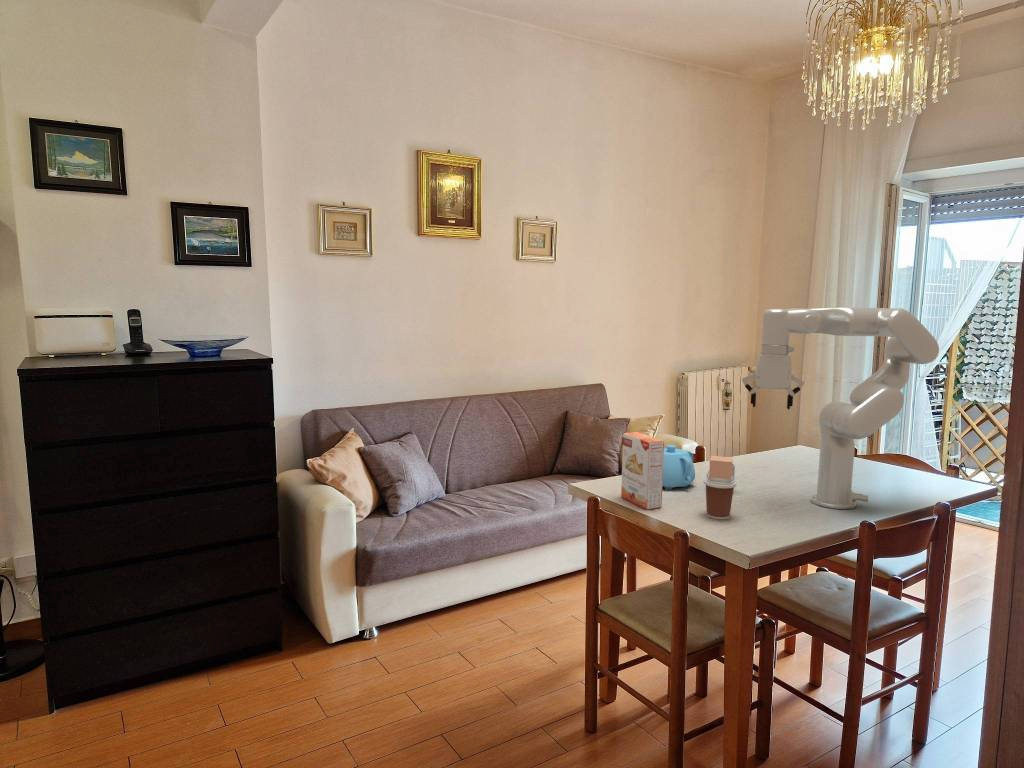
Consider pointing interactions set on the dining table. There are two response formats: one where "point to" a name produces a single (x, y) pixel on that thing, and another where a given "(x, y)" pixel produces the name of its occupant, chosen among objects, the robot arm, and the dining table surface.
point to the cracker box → (642, 470)
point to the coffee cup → (719, 497)
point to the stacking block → (720, 467)
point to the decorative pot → (677, 467)
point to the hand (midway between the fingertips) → (771, 407)
